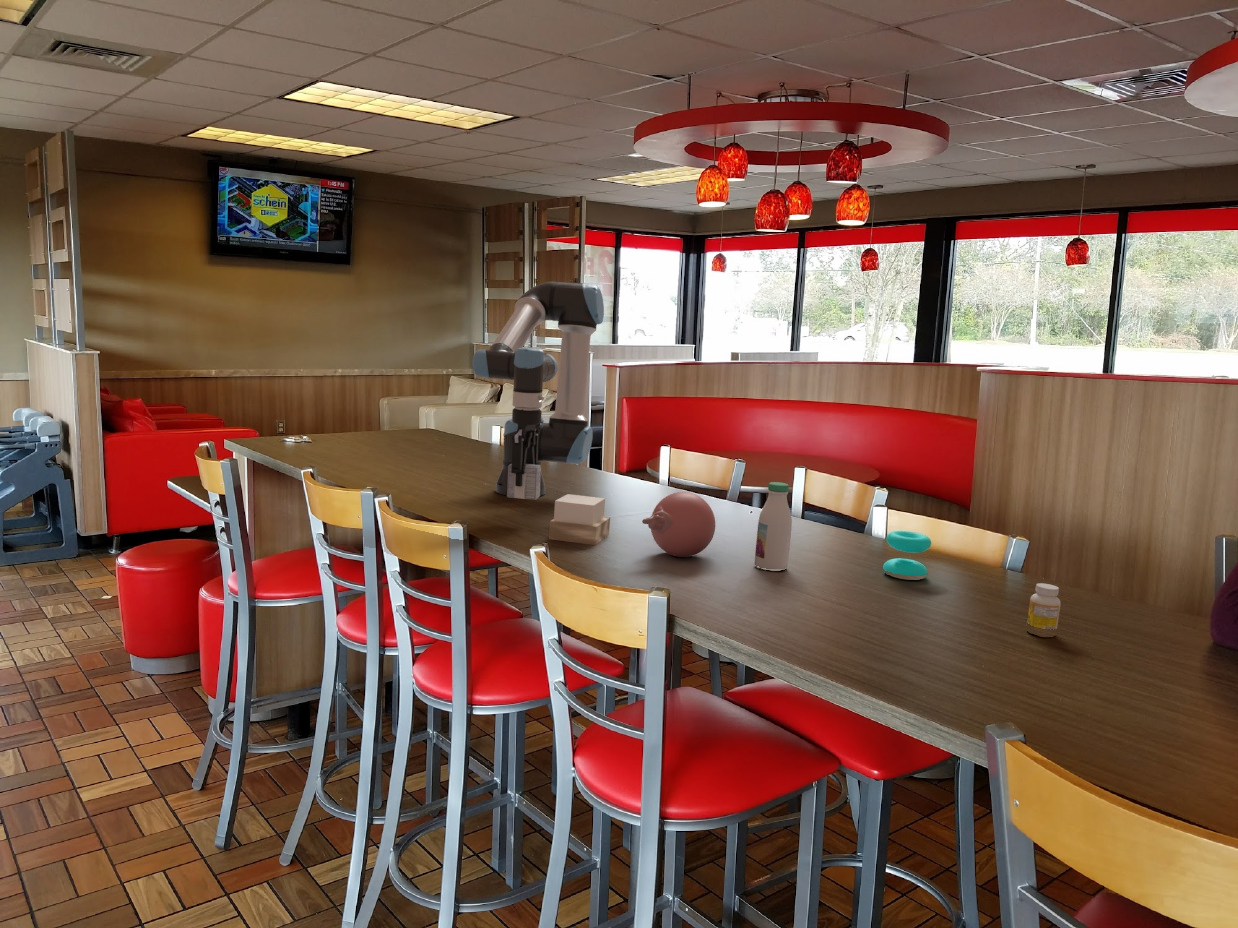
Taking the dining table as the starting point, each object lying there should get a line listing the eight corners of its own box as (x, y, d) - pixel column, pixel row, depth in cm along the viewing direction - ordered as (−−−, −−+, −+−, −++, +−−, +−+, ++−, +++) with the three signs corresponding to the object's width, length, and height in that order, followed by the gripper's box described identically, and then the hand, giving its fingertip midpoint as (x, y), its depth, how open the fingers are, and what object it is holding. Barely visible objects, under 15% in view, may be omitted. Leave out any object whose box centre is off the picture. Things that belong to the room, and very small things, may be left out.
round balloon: (619, 552, 219) (624, 489, 217) (685, 545, 230) (690, 484, 228) (658, 569, 207) (662, 502, 204) (726, 560, 218) (731, 497, 215)
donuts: (909, 528, 220) (941, 538, 211) (904, 569, 221) (936, 580, 213) (877, 530, 215) (909, 541, 206) (873, 571, 217) (904, 583, 208)
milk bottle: (790, 566, 217) (798, 483, 213) (784, 574, 209) (793, 488, 206) (757, 561, 219) (765, 479, 216) (751, 569, 212) (759, 483, 209)
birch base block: (564, 530, 239) (565, 511, 238) (608, 536, 236) (610, 517, 235) (548, 540, 228) (549, 520, 227) (595, 546, 225) (596, 526, 224)
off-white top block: (566, 513, 237) (567, 494, 236) (603, 517, 235) (605, 498, 234) (553, 520, 228) (555, 500, 227) (592, 525, 225) (593, 505, 224)
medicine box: (540, 497, 244) (541, 464, 242) (536, 500, 239) (537, 467, 238) (511, 494, 245) (512, 462, 243) (506, 497, 240) (508, 465, 239)
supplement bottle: (1051, 640, 175) (1058, 592, 173) (1022, 633, 178) (1028, 585, 177) (1059, 634, 179) (1066, 586, 177) (1030, 627, 182) (1037, 580, 181)
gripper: (527, 413, 228) (523, 504, 233) (553, 406, 245) (549, 491, 250) (499, 410, 230) (496, 500, 235) (526, 403, 247) (523, 488, 252)
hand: (523, 495), depth 242 cm, fingers closed on medicine box, 5 cm apart
